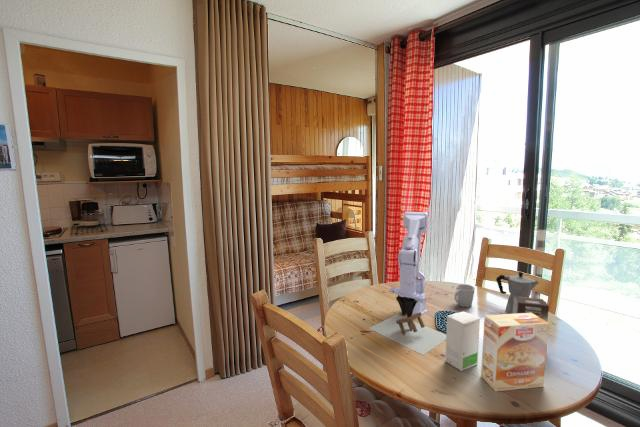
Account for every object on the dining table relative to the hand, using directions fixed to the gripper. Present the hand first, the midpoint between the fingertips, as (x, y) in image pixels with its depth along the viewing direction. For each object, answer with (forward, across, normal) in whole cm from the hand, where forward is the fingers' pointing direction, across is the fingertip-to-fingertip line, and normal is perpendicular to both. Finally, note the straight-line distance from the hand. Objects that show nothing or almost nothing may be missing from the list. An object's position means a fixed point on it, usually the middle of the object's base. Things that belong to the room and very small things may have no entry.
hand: (406, 315), depth 119 cm
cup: (+7, +2, +39) cm, 40 cm away
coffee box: (+7, +32, +25) cm, 42 cm away
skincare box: (+7, +23, -3) cm, 24 cm away
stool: (+4, -1, 0) cm, 5 cm away
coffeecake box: (+8, +37, -1) cm, 37 cm away
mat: (+7, +1, 0) cm, 7 cm away
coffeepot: (+7, +20, +49) cm, 54 cm away
